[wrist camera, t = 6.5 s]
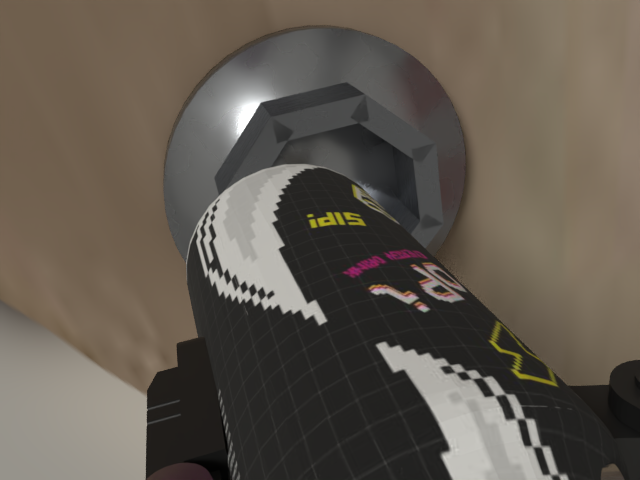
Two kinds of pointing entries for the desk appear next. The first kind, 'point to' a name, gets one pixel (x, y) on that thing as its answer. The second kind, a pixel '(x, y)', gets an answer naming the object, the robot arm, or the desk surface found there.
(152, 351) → the desk surface
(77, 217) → the desk surface
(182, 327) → the desk surface
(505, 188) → the desk surface
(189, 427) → the robot arm
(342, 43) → the rosette socket
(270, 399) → the beverage can
